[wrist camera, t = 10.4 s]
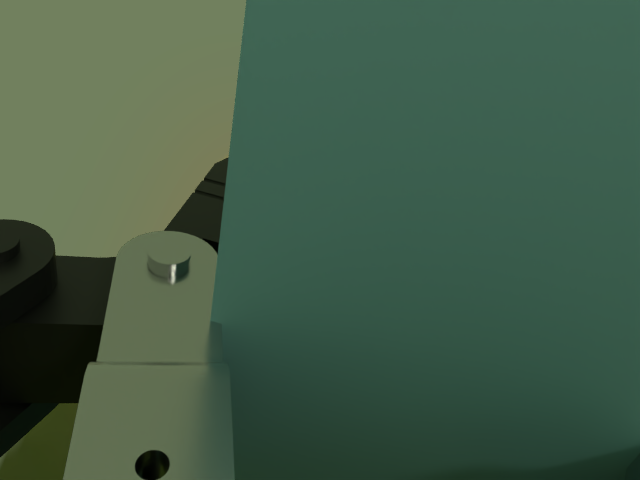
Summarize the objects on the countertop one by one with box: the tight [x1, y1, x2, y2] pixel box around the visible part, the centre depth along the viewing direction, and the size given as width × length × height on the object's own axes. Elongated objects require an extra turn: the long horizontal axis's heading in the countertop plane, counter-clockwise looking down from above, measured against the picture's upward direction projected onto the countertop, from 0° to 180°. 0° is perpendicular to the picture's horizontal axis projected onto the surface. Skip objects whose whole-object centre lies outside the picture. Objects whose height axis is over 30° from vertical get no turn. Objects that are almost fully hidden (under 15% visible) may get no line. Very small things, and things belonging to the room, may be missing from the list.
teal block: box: [210, 0, 640, 480], centre depth 9 cm, size 5×5×14 cm
